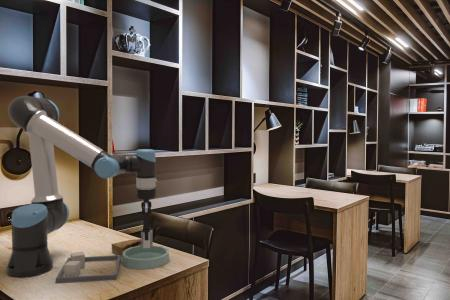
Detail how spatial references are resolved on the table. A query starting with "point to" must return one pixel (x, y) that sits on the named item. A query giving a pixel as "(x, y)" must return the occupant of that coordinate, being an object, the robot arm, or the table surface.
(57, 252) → the table surface
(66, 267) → the light grey block
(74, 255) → the pale grey block
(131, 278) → the table surface
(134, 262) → the bowl
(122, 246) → the stone
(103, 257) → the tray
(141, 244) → the grey square pillar
